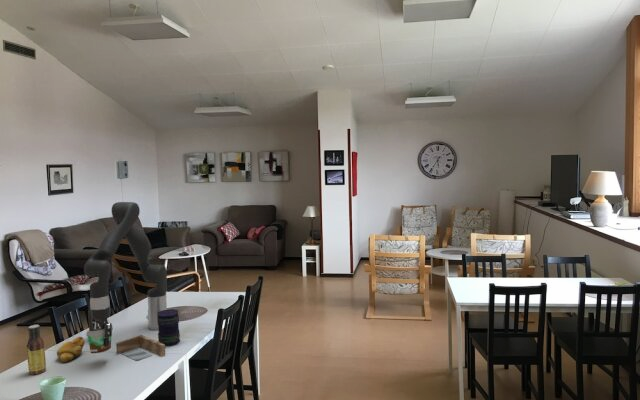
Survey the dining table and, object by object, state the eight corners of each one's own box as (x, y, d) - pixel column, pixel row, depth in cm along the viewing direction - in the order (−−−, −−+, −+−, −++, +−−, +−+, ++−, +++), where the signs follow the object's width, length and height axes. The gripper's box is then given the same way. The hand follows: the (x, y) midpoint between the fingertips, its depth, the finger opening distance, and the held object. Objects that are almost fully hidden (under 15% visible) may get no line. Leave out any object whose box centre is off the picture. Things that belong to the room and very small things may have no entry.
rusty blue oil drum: (184, 340, 228) (182, 310, 227) (171, 347, 219) (170, 316, 218) (167, 338, 231) (165, 308, 230) (153, 345, 222) (152, 314, 221)
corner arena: (116, 353, 213) (116, 342, 213) (141, 345, 223) (141, 334, 222) (139, 364, 201) (139, 353, 200) (165, 355, 210) (164, 344, 210)
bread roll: (72, 363, 203) (71, 345, 203) (50, 364, 203) (48, 346, 203) (87, 351, 216) (86, 335, 215) (66, 352, 216) (65, 335, 216)
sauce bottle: (33, 369, 198) (30, 323, 197) (49, 368, 199) (46, 322, 197) (25, 376, 192) (22, 328, 190) (41, 375, 192) (38, 328, 191)
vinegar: (108, 338, 233) (105, 298, 232) (96, 342, 227) (94, 302, 225) (98, 336, 236) (96, 297, 234) (86, 340, 230) (84, 300, 228)
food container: (100, 355, 195) (98, 332, 194) (87, 354, 197) (86, 331, 196) (120, 344, 207) (118, 322, 206) (108, 343, 209) (107, 321, 208)
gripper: (83, 305, 202) (86, 343, 204) (99, 311, 193) (102, 351, 195) (100, 301, 208) (103, 337, 210) (117, 307, 199) (119, 345, 201)
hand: (102, 344), depth 202 cm, fingers closed on food container, 6 cm apart
